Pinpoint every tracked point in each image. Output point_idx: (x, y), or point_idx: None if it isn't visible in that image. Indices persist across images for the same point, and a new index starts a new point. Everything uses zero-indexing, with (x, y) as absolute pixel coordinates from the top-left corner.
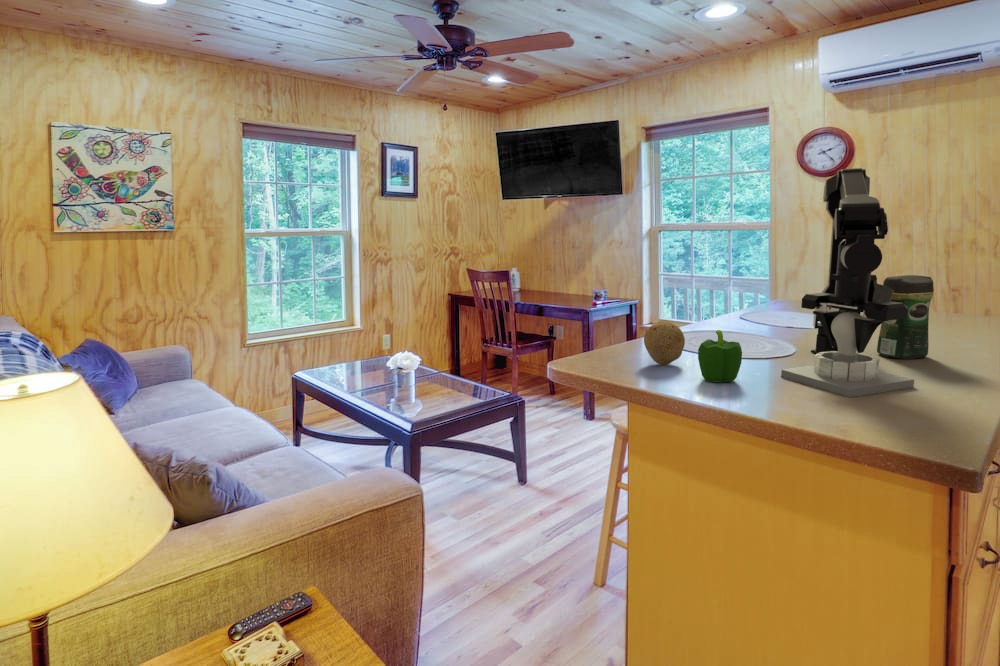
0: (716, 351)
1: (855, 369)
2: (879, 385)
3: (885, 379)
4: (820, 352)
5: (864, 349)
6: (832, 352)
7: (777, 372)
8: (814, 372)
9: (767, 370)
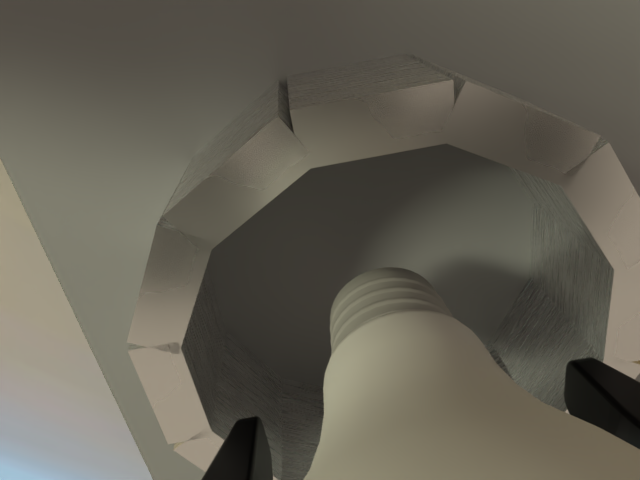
0: None
1: None
2: None
3: (602, 105)
4: (176, 438)
5: (619, 374)
6: (183, 347)
7: (75, 449)
8: None
9: (22, 471)
